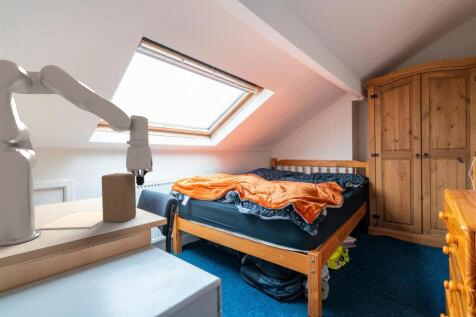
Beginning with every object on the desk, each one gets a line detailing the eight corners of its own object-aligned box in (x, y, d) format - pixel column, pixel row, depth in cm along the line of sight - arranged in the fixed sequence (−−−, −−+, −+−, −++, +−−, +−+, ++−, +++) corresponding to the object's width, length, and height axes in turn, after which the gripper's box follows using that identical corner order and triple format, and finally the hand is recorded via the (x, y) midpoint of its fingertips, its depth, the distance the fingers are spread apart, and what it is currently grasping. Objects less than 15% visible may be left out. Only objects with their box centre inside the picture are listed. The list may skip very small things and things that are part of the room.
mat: (38, 229, 89) (38, 228, 89) (74, 213, 111) (74, 212, 111) (92, 228, 90) (91, 226, 90) (117, 212, 112) (117, 211, 112)
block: (137, 216, 106) (135, 173, 105) (124, 223, 96) (122, 175, 95) (116, 215, 107) (115, 172, 106) (101, 222, 97) (100, 175, 96)
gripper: (117, 143, 96) (119, 186, 97) (154, 143, 97) (155, 186, 98) (125, 143, 104) (126, 184, 105) (159, 143, 105) (159, 183, 106)
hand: (140, 185), depth 101 cm, fingers closed
